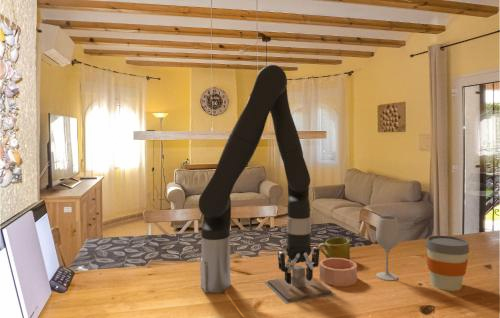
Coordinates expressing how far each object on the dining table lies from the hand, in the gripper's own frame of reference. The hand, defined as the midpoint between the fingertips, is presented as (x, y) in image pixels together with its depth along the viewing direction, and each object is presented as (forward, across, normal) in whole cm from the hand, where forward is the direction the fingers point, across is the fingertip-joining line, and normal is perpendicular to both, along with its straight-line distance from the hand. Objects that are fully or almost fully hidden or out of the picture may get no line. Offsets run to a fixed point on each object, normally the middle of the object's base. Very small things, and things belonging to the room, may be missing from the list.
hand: (298, 281), depth 122 cm
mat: (+3, 0, 0) cm, 3 cm away
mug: (+3, +26, +20) cm, 33 cm away
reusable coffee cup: (+3, +47, -14) cm, 49 cm away
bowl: (+3, +16, +2) cm, 16 cm away
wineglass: (+3, +34, -1) cm, 34 cm away
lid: (+2, 0, 0) cm, 2 cm away
